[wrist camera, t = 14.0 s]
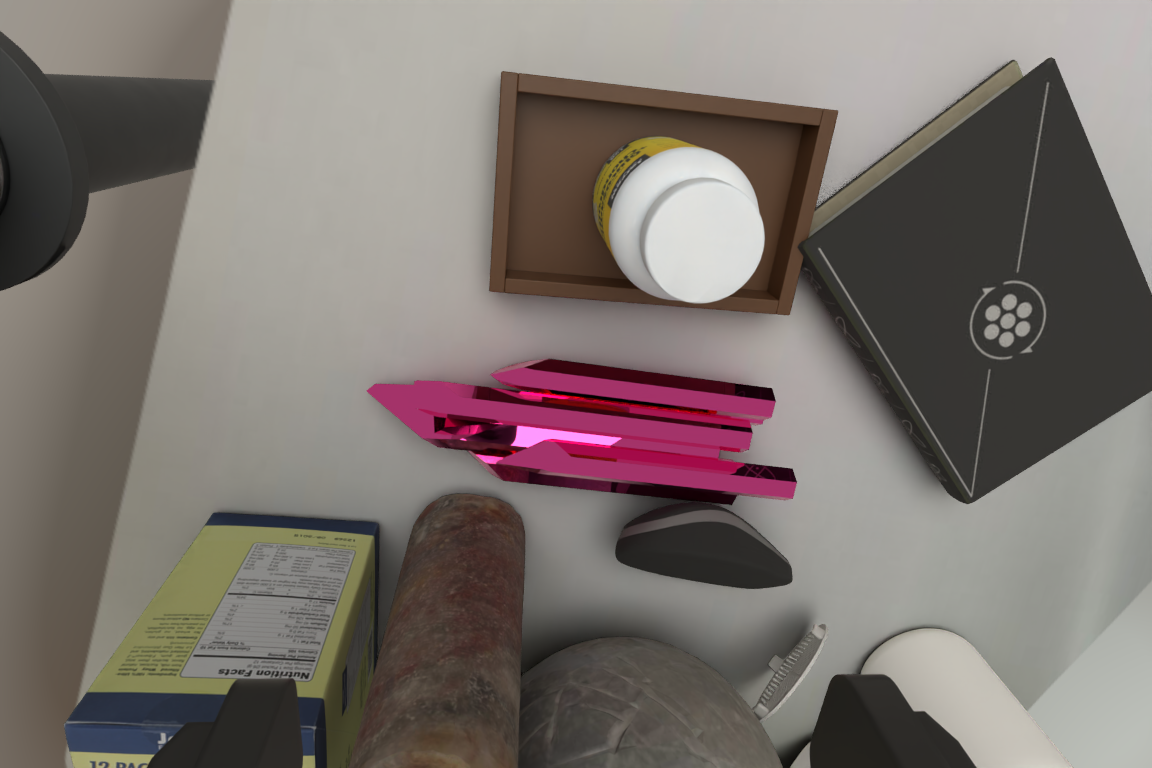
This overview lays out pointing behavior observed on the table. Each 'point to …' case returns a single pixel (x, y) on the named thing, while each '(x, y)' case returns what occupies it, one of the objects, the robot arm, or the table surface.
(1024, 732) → the wine bottle
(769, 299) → the serving tray
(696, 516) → the computer mouse
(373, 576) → the protein box
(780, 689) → the drain cover
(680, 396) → the crystal
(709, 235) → the pill bottle
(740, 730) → the bowl
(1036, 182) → the book
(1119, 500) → the table surface
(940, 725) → the robot arm
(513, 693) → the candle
